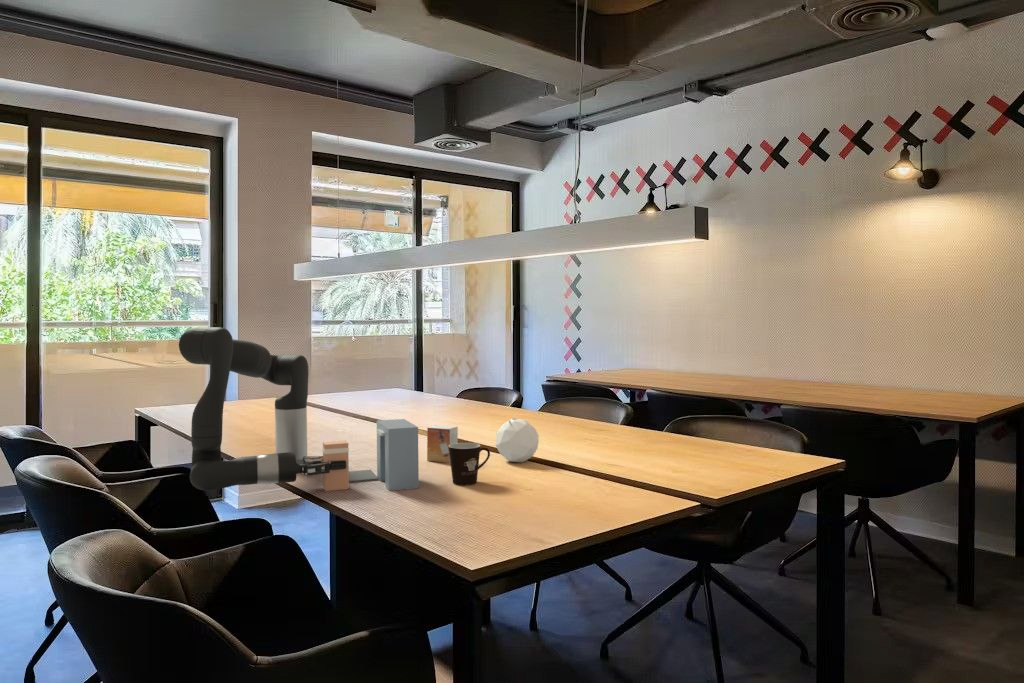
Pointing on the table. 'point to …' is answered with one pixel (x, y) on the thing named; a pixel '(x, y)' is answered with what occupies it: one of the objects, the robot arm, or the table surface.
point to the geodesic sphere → (517, 440)
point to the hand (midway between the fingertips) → (344, 462)
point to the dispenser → (397, 454)
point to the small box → (440, 442)
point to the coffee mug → (465, 462)
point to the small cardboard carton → (336, 477)
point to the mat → (362, 476)
